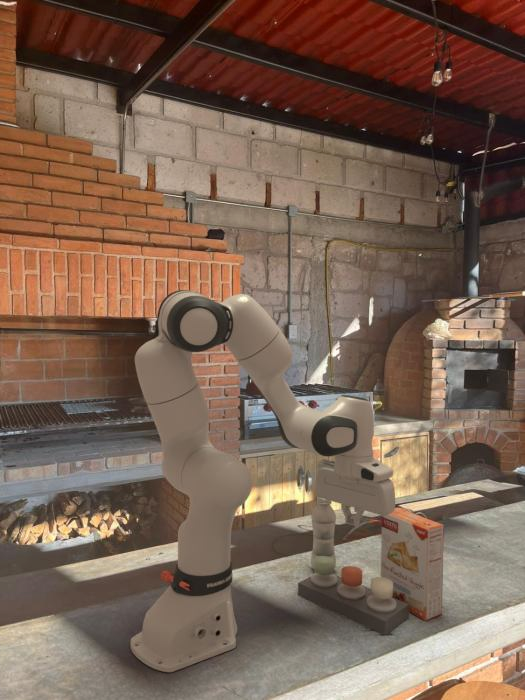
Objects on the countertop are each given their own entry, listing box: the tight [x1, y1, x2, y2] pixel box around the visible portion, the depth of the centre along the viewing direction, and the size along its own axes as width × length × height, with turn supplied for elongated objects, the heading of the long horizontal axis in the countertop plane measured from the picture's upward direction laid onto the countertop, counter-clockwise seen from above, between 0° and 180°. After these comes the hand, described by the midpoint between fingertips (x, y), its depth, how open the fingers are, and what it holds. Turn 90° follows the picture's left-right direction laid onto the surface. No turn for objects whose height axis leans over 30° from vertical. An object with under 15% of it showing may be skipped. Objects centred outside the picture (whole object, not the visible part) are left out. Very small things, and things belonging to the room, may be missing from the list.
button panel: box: [297, 572, 410, 636], centre depth 124 cm, size 10×24×4 cm, turn 46°
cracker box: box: [380, 507, 445, 622], centre depth 124 cm, size 14×6×21 cm, turn 33°
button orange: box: [340, 565, 363, 587], centre depth 124 cm, size 5×5×3 cm
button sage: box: [313, 556, 335, 575], centre depth 129 cm, size 5×5×3 cm
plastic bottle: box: [310, 496, 337, 570], centre depth 142 cm, size 6×7×20 cm
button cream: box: [370, 576, 393, 599], centre depth 118 cm, size 5×5×3 cm
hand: (352, 524), depth 123 cm, fingers closed
